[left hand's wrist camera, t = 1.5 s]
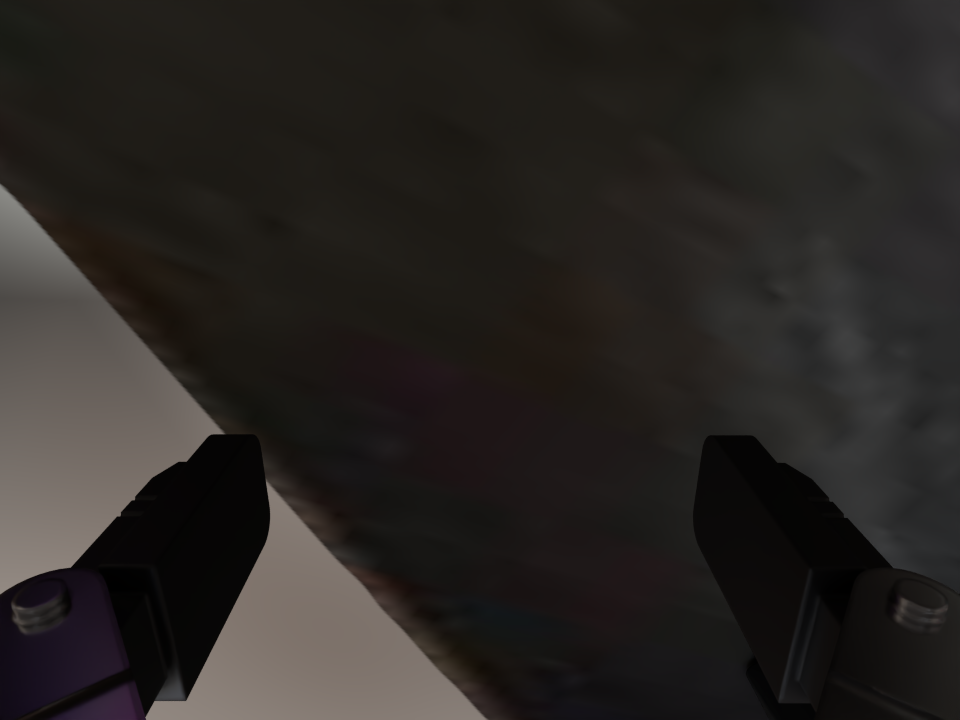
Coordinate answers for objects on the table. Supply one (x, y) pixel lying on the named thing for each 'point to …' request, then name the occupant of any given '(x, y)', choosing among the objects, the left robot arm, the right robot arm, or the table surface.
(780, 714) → the handbag
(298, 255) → the table surface
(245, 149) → the table surface
